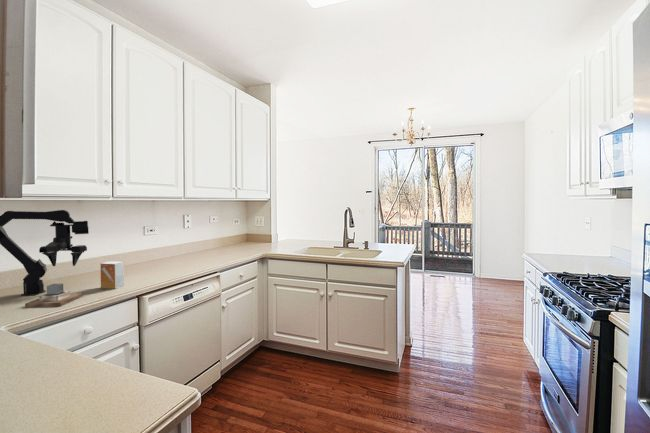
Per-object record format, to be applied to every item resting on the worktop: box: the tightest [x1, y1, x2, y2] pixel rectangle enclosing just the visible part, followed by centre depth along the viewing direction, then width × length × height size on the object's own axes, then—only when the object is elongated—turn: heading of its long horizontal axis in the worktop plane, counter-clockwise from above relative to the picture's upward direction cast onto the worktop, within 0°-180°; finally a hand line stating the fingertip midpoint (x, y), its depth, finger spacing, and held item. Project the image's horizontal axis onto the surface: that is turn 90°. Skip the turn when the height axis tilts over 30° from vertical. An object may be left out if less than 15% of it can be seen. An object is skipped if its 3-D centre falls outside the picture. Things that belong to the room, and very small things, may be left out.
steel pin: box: [46, 283, 64, 296], centre depth 139 cm, size 4×4×6 cm
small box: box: [100, 260, 125, 290], centre depth 162 cm, size 8×6×13 cm
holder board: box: [24, 290, 84, 308], centre depth 139 cm, size 14×14×4 cm
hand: (64, 265), depth 157 cm, fingers open, 9 cm apart
